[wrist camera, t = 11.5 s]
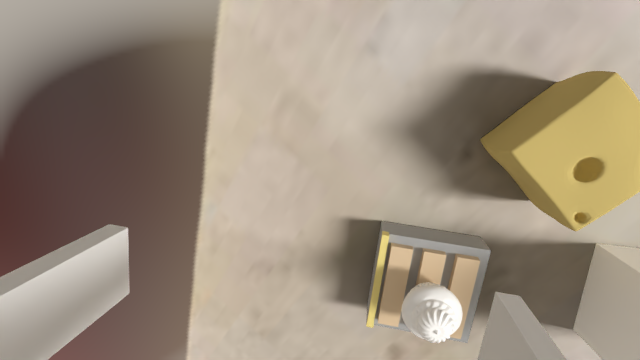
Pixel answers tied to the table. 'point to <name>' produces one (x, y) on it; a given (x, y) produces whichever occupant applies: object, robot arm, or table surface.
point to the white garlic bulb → (431, 312)
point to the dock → (425, 272)
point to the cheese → (574, 147)
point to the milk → (611, 303)
